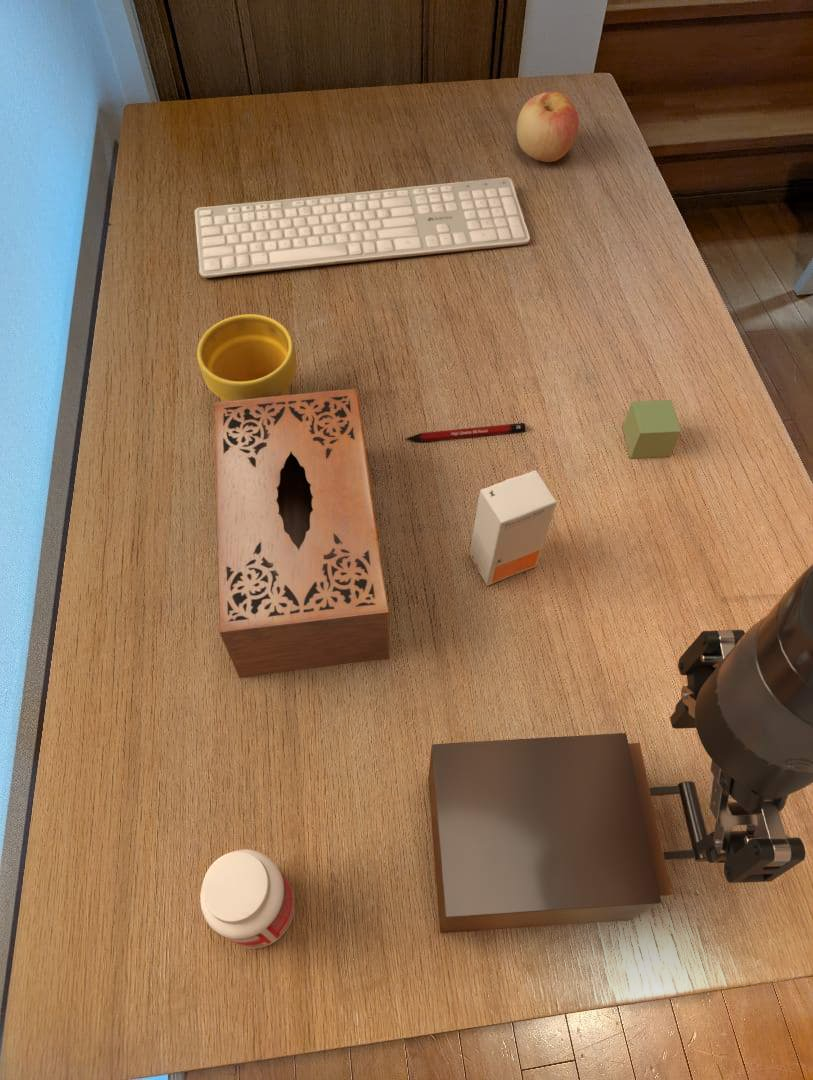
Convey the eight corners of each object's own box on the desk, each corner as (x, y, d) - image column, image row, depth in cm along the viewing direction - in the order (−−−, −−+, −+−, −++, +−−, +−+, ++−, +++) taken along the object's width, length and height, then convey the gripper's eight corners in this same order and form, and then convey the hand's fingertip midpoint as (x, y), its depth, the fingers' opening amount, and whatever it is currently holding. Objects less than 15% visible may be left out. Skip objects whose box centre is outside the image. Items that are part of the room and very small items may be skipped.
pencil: (403, 438, 93) (403, 433, 92) (523, 427, 94) (524, 421, 94) (404, 445, 93) (404, 439, 92) (524, 433, 94) (525, 427, 93)
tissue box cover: (231, 462, 91) (214, 402, 83) (360, 448, 92) (356, 388, 84) (239, 677, 78) (219, 632, 69) (389, 658, 79) (388, 612, 70)
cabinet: (601, 767, 74) (626, 732, 65) (629, 920, 67) (661, 903, 59) (428, 777, 73) (431, 744, 65) (439, 933, 66) (445, 917, 58)
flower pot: (196, 423, 94) (176, 363, 86) (243, 364, 99) (229, 301, 91) (274, 455, 92) (262, 396, 84) (318, 392, 97) (311, 330, 88)
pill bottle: (274, 853, 70) (255, 823, 60) (309, 920, 67) (294, 900, 57) (207, 895, 68) (176, 870, 58) (240, 966, 65) (213, 952, 56)
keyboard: (201, 282, 106) (197, 267, 104) (197, 221, 113) (193, 206, 111) (530, 246, 111) (533, 231, 109) (509, 189, 117) (511, 174, 115)
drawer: (670, 767, 73) (697, 739, 66) (702, 906, 67) (735, 890, 60) (455, 780, 72) (460, 753, 65) (468, 922, 66) (475, 908, 59)
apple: (558, 132, 125) (567, 79, 118) (582, 166, 120) (592, 113, 113) (504, 142, 123) (510, 89, 116) (526, 177, 119) (534, 124, 112)
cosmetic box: (486, 588, 83) (499, 524, 73) (468, 555, 85) (477, 488, 75) (539, 567, 84) (558, 501, 74) (519, 535, 87) (536, 467, 76)
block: (660, 425, 95) (671, 399, 91) (669, 456, 92) (681, 431, 88) (622, 427, 94) (631, 401, 91) (630, 458, 92) (640, 433, 88)
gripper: (914, 839, 39) (780, 893, 52) (823, 575, 46) (727, 683, 60) (756, 844, 38) (663, 897, 52) (690, 579, 46) (625, 687, 60)
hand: (697, 783), depth 56 cm, fingers open, 8 cm apart
